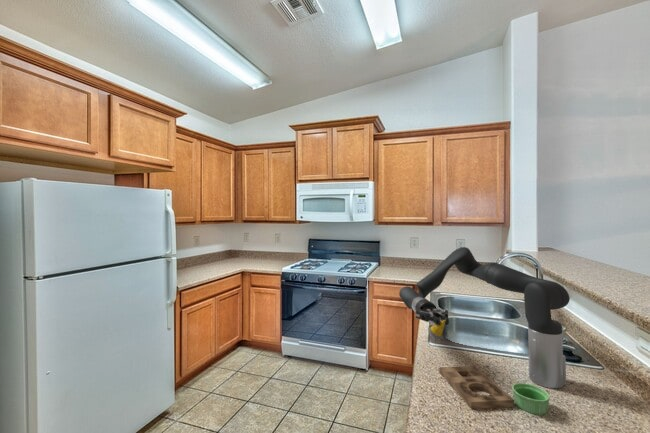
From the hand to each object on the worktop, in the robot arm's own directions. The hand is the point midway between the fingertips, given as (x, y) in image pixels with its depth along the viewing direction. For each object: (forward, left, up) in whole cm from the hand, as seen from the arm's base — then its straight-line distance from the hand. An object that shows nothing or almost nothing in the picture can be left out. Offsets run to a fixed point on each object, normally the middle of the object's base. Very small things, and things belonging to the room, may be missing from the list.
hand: (443, 322), depth 106 cm
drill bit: (0, -3, -7) cm, 7 cm away
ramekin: (-16, +21, -18) cm, 32 cm away
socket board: (-4, +11, -17) cm, 21 cm away
